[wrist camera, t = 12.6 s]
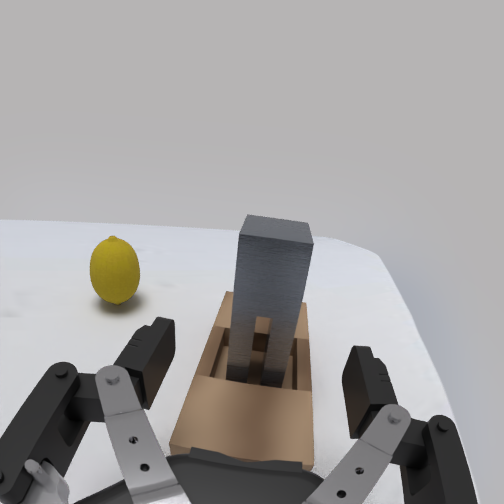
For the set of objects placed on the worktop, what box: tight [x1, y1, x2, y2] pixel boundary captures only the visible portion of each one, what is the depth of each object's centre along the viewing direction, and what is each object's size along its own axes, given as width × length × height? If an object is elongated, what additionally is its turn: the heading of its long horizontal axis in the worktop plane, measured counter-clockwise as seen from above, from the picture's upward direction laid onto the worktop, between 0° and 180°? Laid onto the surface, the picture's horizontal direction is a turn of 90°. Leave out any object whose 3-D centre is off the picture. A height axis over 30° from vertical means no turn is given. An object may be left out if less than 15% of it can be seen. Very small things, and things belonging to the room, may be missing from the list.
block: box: [226, 215, 314, 388], centre depth 21 cm, size 4×4×12 cm
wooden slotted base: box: [169, 291, 314, 471], centre depth 23 cm, size 8×18×4 cm, turn 173°
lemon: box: [90, 236, 140, 305], centre depth 30 cm, size 6×6×8 cm
